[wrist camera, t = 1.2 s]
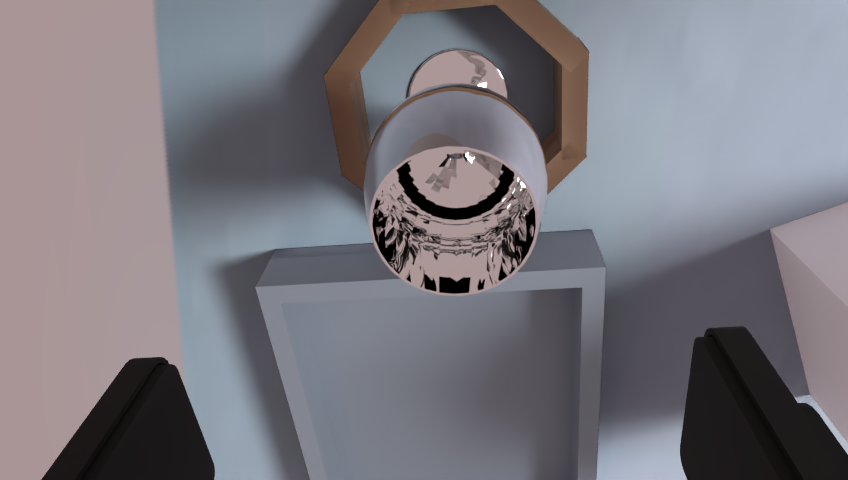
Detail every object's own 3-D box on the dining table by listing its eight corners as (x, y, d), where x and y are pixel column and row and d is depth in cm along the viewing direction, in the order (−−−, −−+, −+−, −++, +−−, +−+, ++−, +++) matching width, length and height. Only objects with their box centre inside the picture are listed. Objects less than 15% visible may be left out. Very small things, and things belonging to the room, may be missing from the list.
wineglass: (457, 2, 25) (451, 76, 15) (550, 98, 27) (605, 225, 16) (367, 101, 27) (306, 225, 17) (458, 183, 29) (454, 343, 19)
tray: (591, 229, 30) (605, 267, 27) (583, 501, 39) (592, 551, 36) (275, 249, 31) (255, 286, 28) (341, 505, 41) (331, 554, 38)
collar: (580, -42, 24) (591, -36, 22) (576, 197, 29) (585, 222, 27) (321, -14, 25) (307, -6, 23) (360, 212, 30) (352, 237, 28)
